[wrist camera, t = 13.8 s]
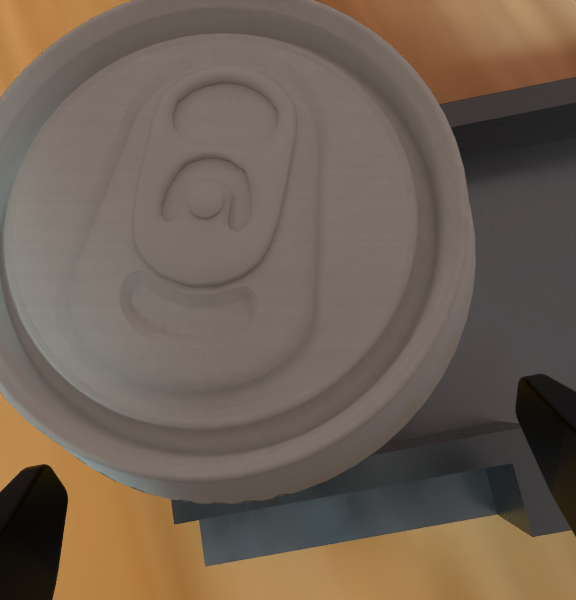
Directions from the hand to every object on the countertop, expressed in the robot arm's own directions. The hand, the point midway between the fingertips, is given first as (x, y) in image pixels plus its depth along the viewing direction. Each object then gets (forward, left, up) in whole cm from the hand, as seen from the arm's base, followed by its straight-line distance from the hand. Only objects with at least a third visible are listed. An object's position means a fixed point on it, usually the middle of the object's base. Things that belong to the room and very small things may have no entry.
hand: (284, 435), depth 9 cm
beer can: (+3, 0, -10) cm, 11 cm away
